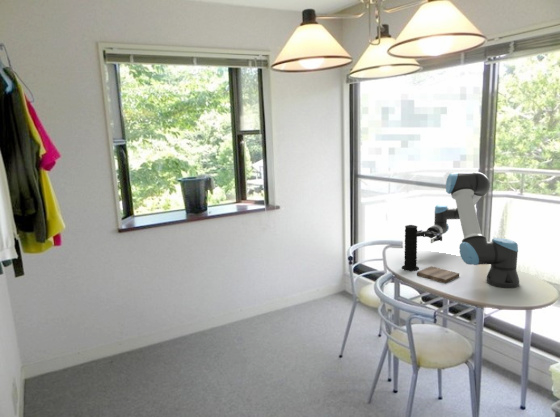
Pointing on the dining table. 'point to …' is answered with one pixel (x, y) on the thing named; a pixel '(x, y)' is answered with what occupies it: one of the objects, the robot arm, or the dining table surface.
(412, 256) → the handle grip
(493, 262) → the robot arm
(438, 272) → the walnut plate
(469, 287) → the dining table surface
